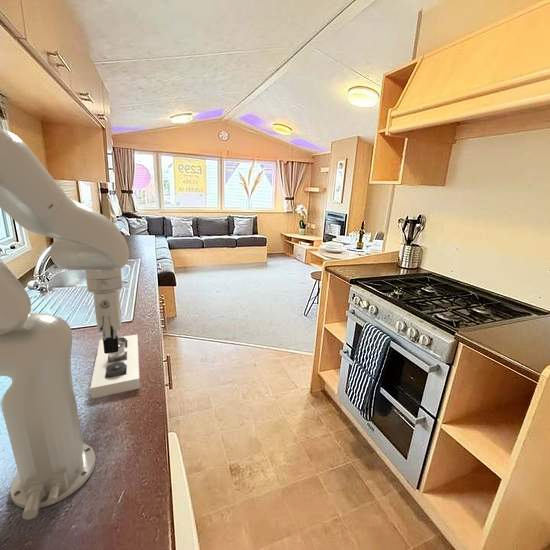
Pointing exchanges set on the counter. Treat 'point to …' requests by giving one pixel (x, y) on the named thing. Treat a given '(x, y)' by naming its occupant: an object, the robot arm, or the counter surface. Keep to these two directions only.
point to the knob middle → (118, 353)
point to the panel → (119, 383)
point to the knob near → (115, 369)
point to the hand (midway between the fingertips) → (111, 351)
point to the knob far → (122, 340)
